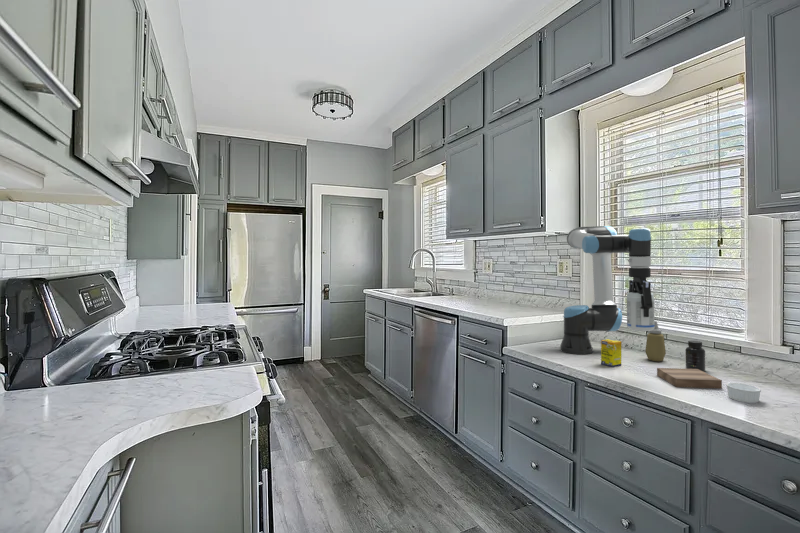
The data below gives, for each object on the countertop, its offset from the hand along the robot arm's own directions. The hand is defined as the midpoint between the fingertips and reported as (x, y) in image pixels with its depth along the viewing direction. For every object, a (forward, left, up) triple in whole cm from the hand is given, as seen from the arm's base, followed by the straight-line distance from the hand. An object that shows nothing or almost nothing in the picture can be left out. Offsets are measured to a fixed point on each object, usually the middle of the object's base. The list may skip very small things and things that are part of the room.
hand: (639, 322), depth 160 cm
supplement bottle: (-13, +27, -22) cm, 37 cm away
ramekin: (+23, +23, -22) cm, 39 cm away
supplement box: (-17, -5, -22) cm, 28 cm away
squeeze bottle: (-28, +18, -22) cm, 40 cm away
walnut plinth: (+5, +15, -22) cm, 27 cm away
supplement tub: (0, 0, -3) cm, 3 cm away
